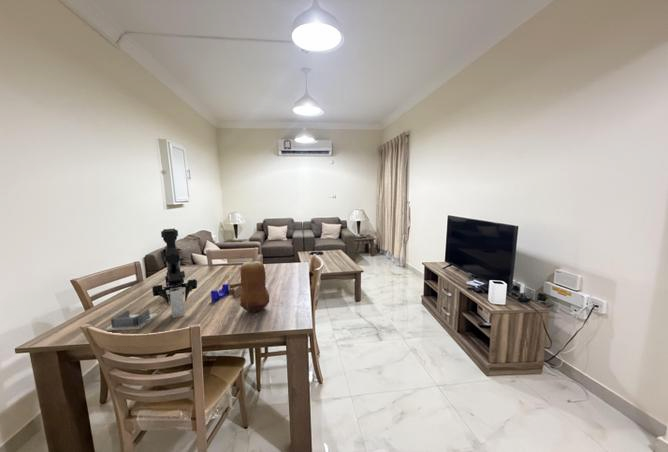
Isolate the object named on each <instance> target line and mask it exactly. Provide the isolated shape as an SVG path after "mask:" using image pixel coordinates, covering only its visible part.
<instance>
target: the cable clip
mask: <svg viewBox="0 0 668 452" xmlns="http://www.w3.org/2000/svg"><path fill="white" fill-rule="evenodd" d="M228 295H230V290H229V283H223V284H222V285H221V289H219V290H218V289H217V290H216V289H212V290H211V291H210V298H211V302H214V303H216V302H218V301H220V300H221V299H223V298H224V297H226V296H228Z"/></svg>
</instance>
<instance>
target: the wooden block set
mask: <svg viewBox="0 0 668 452" xmlns="http://www.w3.org/2000/svg"><path fill="white" fill-rule="evenodd" d="M228 285H229V295H233V296H234V298H235V299H236V298H238V297H240V296H241V292H242V286H241V280H240V281H233V282H229V283H228Z"/></svg>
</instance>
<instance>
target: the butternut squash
mask: <svg viewBox="0 0 668 452" xmlns="http://www.w3.org/2000/svg"><path fill="white" fill-rule="evenodd" d="M266 276H267V275H266V270H265V265H264V263H263V262H261V261H259V260H258V261H257V260H256V261H249V260H248V261H245V262H243V264H241V266H240V281H241V286H242V292H241V295H240V296H239V297H240V299H239V301H240V303H239V304H240V305H239V306H240V307H241V308H242V309H243V310H245V311H247V312H250V313H251V312H255V313H258V312H260V311H262V310H263V309H265V308H266V307H267V306H268V305H269V303H270V294H269V293H270V292H269V291H268V289H267V287H266V279H267V278H266Z"/></svg>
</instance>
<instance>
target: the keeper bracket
mask: <svg viewBox="0 0 668 452" xmlns="http://www.w3.org/2000/svg"><path fill="white" fill-rule="evenodd" d="M158 316H159V314H158V313H150V309H145V310H144V311H142V312H141V313H138V314H130V310H124V311H123V312H121V313H119V314H117V315H116V316H115V317H113V318H111V319H110V324H111V325H108V326H107V327H105V330H106V331H120V330H121V331H124V330H140V329H142V328H143V327H145V326H146V325H147V324H148V323H150V322H151V321H152V320H154V319H155V318H157V317H158Z"/></svg>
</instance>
